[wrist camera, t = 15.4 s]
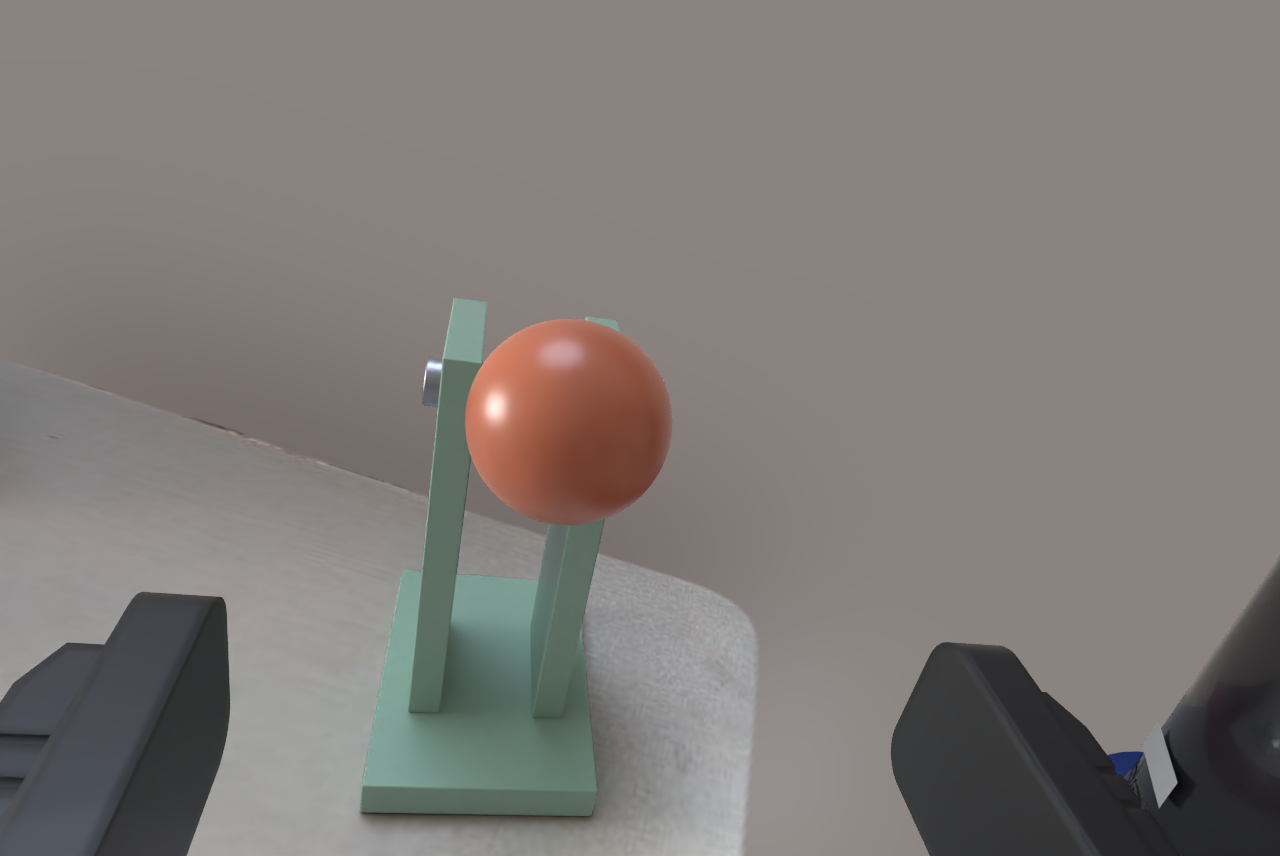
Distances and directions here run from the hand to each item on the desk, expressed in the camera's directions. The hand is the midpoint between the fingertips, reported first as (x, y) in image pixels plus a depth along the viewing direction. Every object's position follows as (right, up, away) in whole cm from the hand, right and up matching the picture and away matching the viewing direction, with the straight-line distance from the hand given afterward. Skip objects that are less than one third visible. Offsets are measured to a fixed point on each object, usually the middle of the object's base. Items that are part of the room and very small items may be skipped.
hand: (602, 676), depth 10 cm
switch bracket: (-5, -7, +20) cm, 22 cm away
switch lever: (-2, +2, +10) cm, 10 cm away
